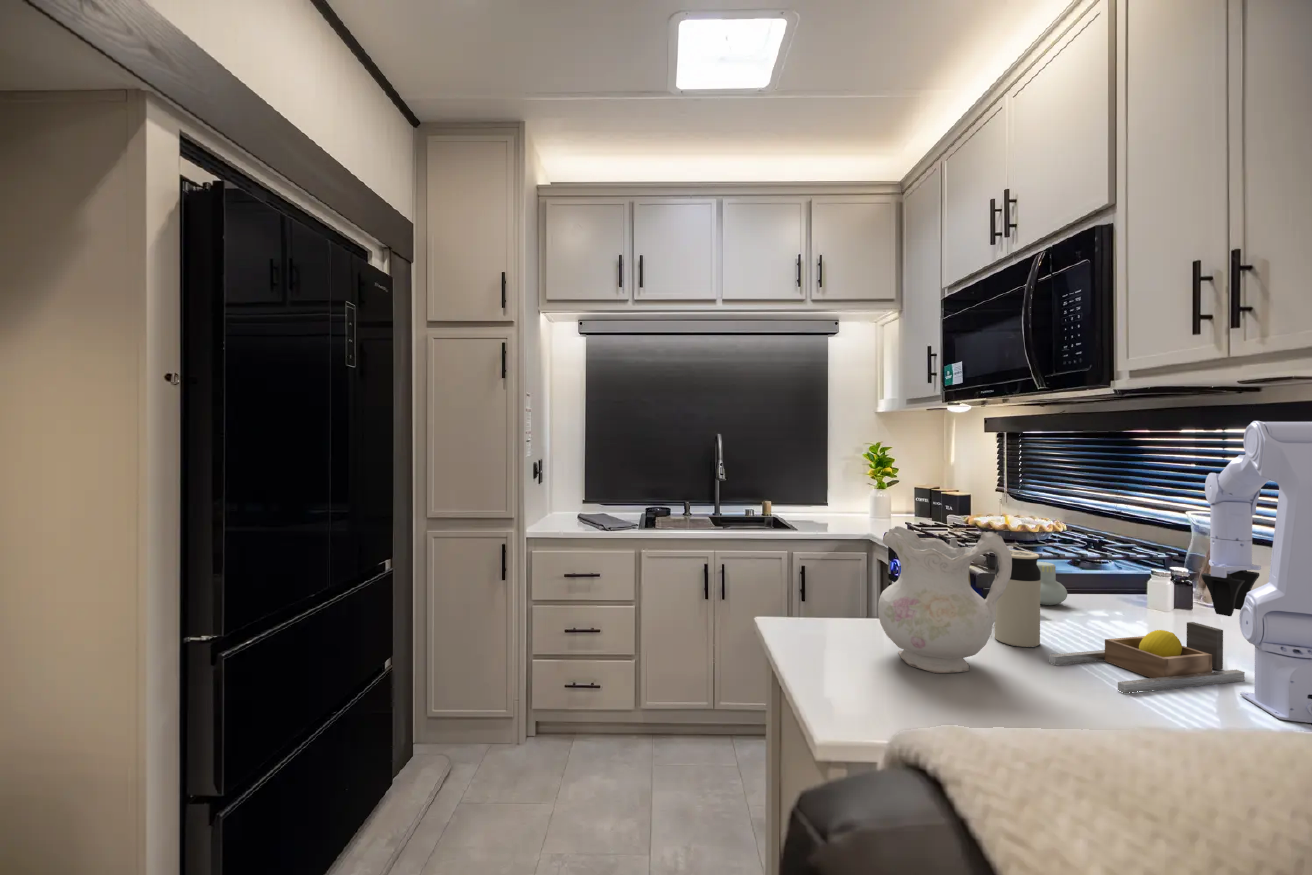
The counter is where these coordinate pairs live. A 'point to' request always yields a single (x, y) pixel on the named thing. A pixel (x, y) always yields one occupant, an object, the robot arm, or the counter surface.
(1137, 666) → the wooden tray
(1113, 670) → the counter surface
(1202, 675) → the lane rails
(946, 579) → the ceramic pitcher
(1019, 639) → the travel mug
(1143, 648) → the lemon
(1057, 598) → the air freshener
